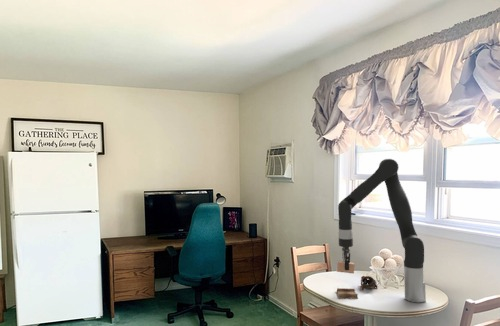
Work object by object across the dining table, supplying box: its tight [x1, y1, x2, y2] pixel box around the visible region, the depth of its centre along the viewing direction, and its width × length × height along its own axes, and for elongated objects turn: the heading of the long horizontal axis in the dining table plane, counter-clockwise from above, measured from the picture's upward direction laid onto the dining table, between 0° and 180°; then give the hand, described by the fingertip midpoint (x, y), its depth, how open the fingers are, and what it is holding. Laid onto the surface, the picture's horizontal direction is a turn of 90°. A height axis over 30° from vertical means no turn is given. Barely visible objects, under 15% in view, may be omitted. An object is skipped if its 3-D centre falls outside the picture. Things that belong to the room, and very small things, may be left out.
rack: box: [336, 287, 359, 300], centre depth 194 cm, size 10×10×2 cm
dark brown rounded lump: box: [360, 275, 378, 291], centre depth 204 cm, size 12×10×8 cm
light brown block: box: [335, 260, 355, 274], centre depth 195 cm, size 9×4×5 cm, turn 83°
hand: (346, 268), depth 194 cm, fingers closed on light brown block, 3 cm apart
